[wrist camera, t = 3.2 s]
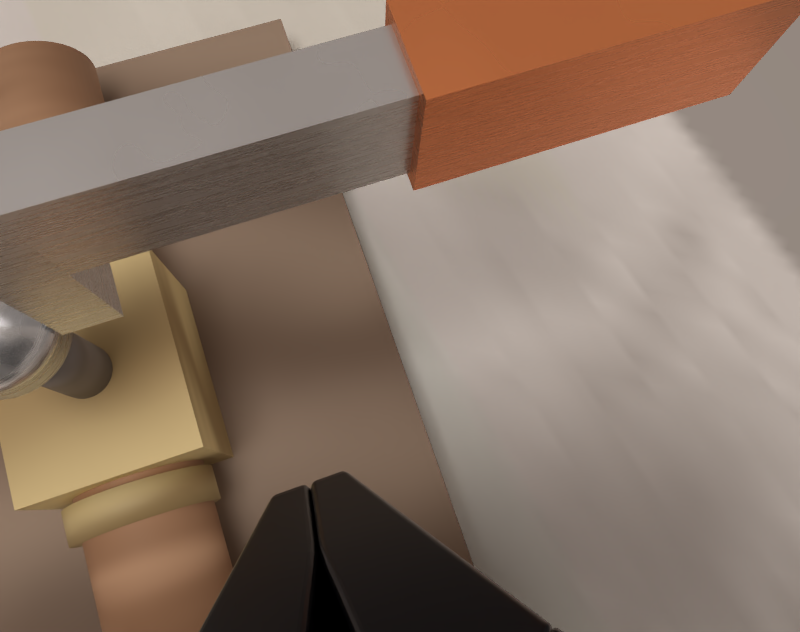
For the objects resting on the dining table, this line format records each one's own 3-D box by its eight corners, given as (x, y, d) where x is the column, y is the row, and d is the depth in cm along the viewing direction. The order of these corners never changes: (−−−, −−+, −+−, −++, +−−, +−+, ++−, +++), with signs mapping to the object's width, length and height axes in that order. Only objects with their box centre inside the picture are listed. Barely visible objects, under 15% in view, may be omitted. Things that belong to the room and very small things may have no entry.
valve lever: (671, 188, 13) (841, 12, 9) (-48, 418, 12) (-337, 358, 7) (624, 90, 14) (761, -130, 9) (-70, 296, 12) (-355, 163, 7)
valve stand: (505, 672, 19) (601, 794, 11) (-30, 885, 17) (-366, 1208, 9) (286, 48, 23) (244, -180, 16) (-154, 168, 22) (-449, -21, 14)
